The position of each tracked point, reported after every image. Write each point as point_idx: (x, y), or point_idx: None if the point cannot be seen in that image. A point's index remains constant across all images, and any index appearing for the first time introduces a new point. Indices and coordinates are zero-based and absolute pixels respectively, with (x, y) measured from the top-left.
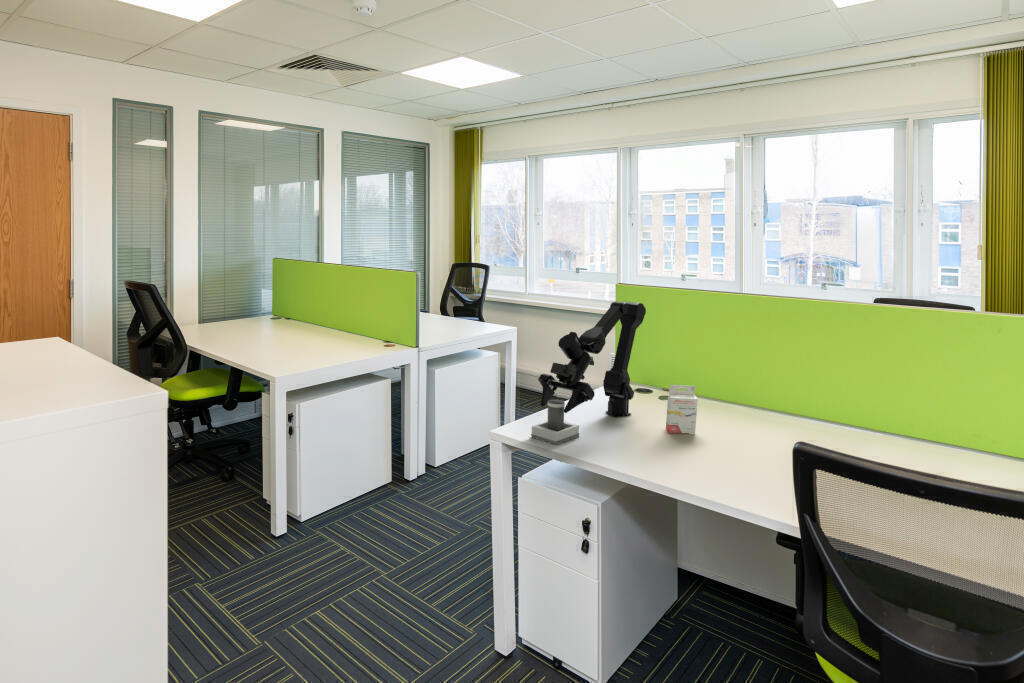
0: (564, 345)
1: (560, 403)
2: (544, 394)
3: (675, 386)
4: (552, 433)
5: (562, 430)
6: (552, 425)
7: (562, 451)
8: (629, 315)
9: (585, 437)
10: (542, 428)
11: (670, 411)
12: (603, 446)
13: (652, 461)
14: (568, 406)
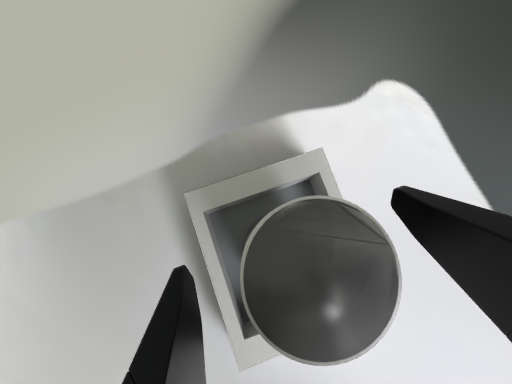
0: None
1: (263, 290)
2: (502, 230)
3: None
4: (203, 187)
5: (206, 244)
6: (260, 219)
7: (121, 185)
8: None
9: (216, 363)
10: (272, 173)
11: None
12: (84, 372)
13: None
14: (154, 316)
